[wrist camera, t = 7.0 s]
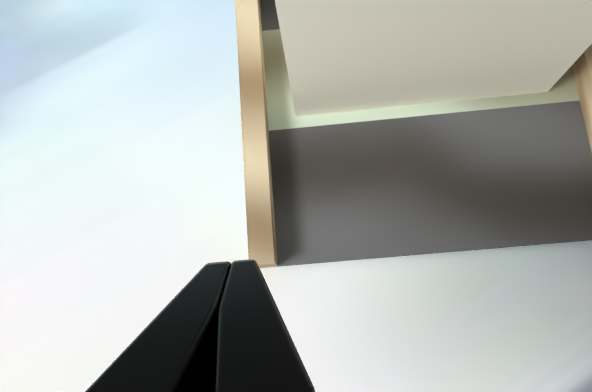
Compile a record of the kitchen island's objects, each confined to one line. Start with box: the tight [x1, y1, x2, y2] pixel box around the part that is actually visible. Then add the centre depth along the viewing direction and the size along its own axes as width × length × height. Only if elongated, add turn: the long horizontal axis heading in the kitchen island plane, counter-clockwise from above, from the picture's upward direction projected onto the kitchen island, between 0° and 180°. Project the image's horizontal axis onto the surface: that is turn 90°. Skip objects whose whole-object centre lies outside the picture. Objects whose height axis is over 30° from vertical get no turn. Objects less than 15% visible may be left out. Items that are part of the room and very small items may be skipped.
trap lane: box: [235, 0, 592, 268], centre depth 22 cm, size 14×16×1 cm
